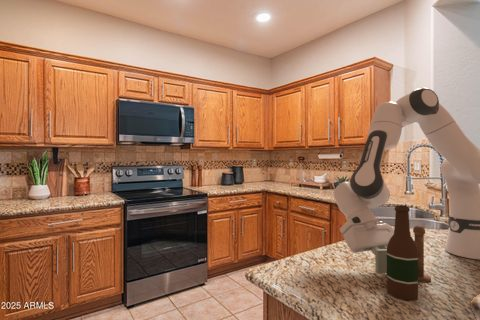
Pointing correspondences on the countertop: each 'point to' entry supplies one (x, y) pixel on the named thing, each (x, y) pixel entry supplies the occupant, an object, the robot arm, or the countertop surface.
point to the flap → (381, 261)
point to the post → (420, 253)
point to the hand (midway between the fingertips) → (387, 261)
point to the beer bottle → (402, 259)
